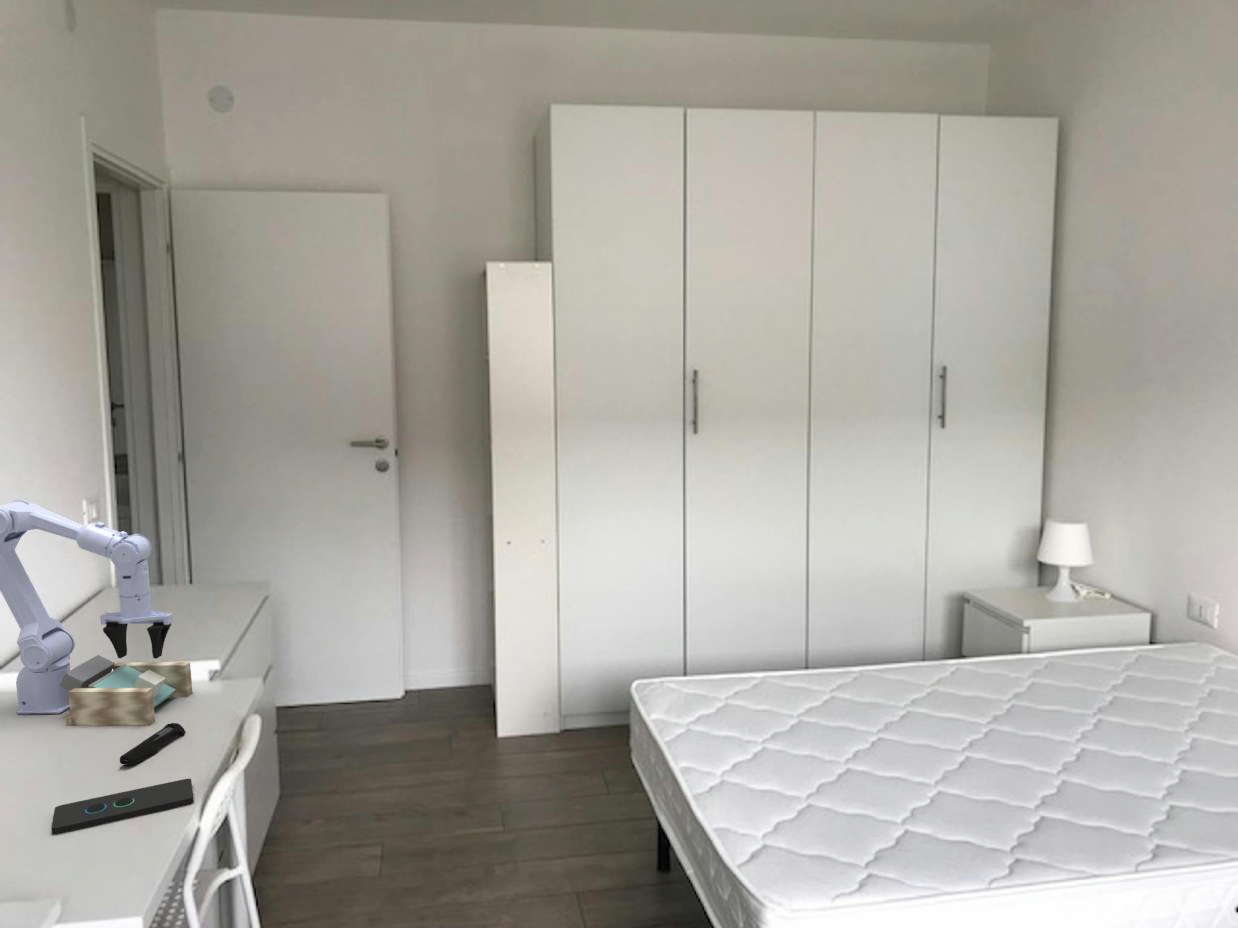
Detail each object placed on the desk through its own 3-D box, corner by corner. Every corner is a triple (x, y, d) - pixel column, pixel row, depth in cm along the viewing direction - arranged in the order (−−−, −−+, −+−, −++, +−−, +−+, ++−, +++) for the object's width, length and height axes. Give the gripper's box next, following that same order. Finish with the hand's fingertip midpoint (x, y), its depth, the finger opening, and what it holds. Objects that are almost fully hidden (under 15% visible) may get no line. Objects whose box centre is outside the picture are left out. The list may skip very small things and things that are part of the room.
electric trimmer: (114, 771, 163) (112, 754, 163) (170, 733, 178) (168, 718, 178) (132, 772, 162) (131, 755, 162) (187, 734, 178) (186, 719, 177)
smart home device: (54, 804, 148) (190, 776, 157) (55, 814, 148) (191, 785, 157) (50, 828, 140) (193, 796, 149) (51, 838, 141) (194, 806, 150)
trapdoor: (58, 686, 184) (64, 671, 184) (94, 665, 196) (100, 651, 196) (138, 725, 184) (145, 711, 184) (170, 702, 196) (176, 688, 196)
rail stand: (66, 725, 182) (63, 691, 182) (116, 693, 199) (113, 662, 198) (149, 725, 182) (146, 691, 181) (192, 692, 199) (190, 662, 198)
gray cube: (130, 692, 187) (137, 676, 187) (141, 685, 191) (148, 669, 191) (148, 701, 188) (155, 684, 187) (158, 694, 191) (165, 677, 191)
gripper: (89, 599, 186) (94, 663, 188) (158, 599, 186) (163, 663, 187) (109, 589, 193) (115, 651, 195) (176, 590, 193) (181, 651, 194)
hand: (140, 656), depth 192 cm, fingers open, 7 cm apart
